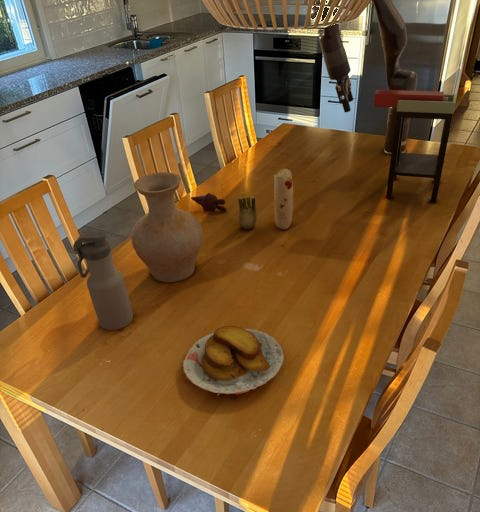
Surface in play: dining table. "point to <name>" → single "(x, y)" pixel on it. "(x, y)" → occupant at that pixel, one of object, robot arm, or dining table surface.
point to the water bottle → (103, 281)
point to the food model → (283, 198)
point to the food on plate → (233, 360)
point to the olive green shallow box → (428, 105)
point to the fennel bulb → (247, 213)
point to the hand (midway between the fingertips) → (349, 106)
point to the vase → (165, 230)
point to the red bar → (405, 97)
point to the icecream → (210, 202)
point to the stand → (417, 162)
